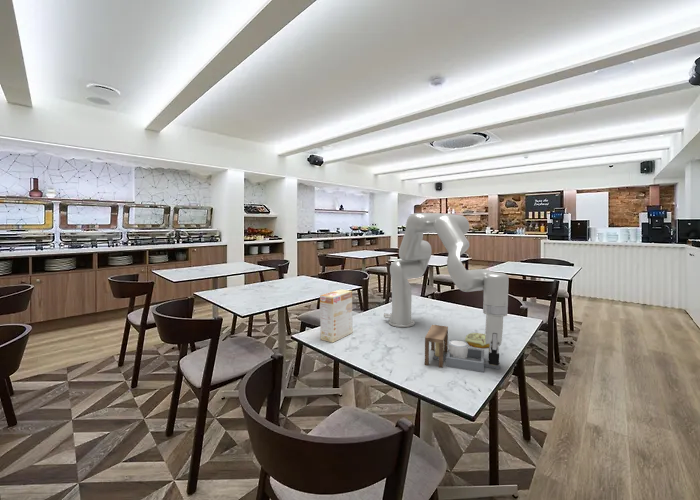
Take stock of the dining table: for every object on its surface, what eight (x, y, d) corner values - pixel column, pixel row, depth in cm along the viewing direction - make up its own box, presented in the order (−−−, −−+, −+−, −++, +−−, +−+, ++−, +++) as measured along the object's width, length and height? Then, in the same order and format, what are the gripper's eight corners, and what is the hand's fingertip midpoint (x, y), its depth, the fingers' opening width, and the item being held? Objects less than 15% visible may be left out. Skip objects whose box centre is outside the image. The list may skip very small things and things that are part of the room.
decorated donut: (460, 345, 132) (460, 336, 132) (472, 338, 140) (472, 329, 139) (486, 352, 125) (486, 342, 124) (497, 344, 132) (497, 335, 132)
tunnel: (424, 366, 112) (425, 337, 112) (431, 350, 126) (431, 324, 126) (442, 369, 110) (443, 339, 109) (447, 352, 124) (448, 326, 123)
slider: (431, 363, 113) (431, 345, 113) (436, 351, 124) (436, 334, 124) (500, 374, 105) (501, 355, 104) (499, 360, 116) (499, 342, 115)
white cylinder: (459, 368, 111) (460, 348, 110) (443, 360, 117) (444, 342, 116) (472, 363, 115) (472, 344, 114) (456, 356, 120) (457, 338, 120)
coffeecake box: (340, 330, 151) (340, 288, 149) (353, 333, 147) (353, 290, 145) (319, 339, 139) (319, 294, 137) (332, 343, 135) (332, 297, 133)
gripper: (483, 302, 118) (482, 351, 120) (482, 314, 103) (481, 370, 105) (506, 304, 115) (504, 354, 117) (509, 317, 100) (506, 374, 102)
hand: (493, 361), depth 111 cm, fingers closed on slider, 3 cm apart
